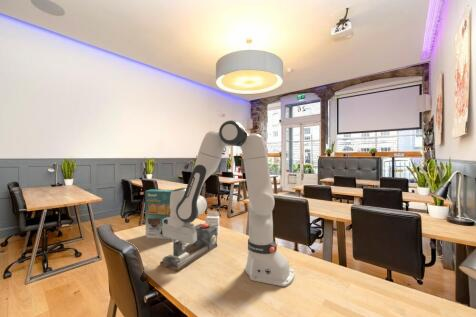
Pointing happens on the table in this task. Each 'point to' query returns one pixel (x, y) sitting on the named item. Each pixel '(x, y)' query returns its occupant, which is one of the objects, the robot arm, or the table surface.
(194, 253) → the track
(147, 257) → the table surface
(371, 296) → the table surface
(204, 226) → the button
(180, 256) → the carriage
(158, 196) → the cake mix box
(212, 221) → the ink cartridge box
